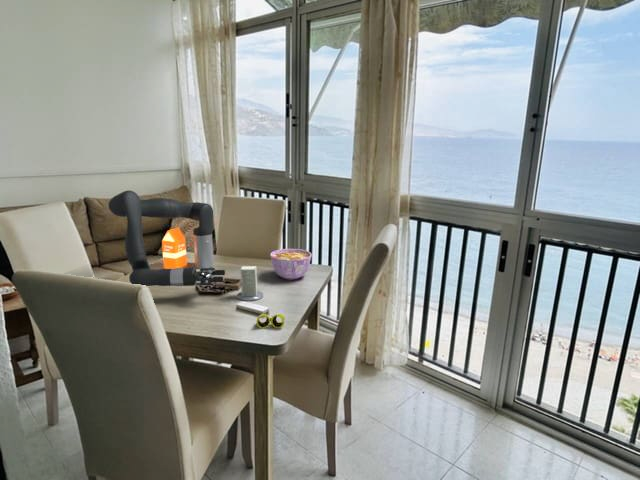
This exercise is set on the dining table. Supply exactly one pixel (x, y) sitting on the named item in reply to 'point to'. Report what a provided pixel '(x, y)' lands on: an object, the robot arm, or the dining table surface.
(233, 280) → the pocket block
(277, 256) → the bowl of food
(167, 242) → the orange juice
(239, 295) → the slate coaster
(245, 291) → the skincare box
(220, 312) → the dining table surface
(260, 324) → the opera glasses
